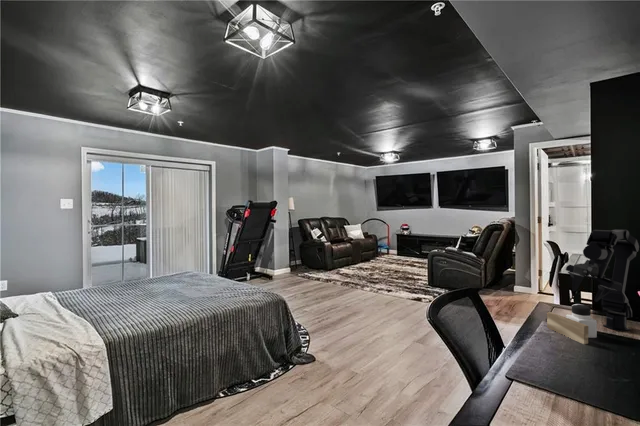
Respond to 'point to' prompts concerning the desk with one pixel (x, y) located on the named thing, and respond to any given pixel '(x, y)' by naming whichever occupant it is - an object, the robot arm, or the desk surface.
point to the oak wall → (568, 327)
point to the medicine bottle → (584, 318)
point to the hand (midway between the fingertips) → (584, 296)
